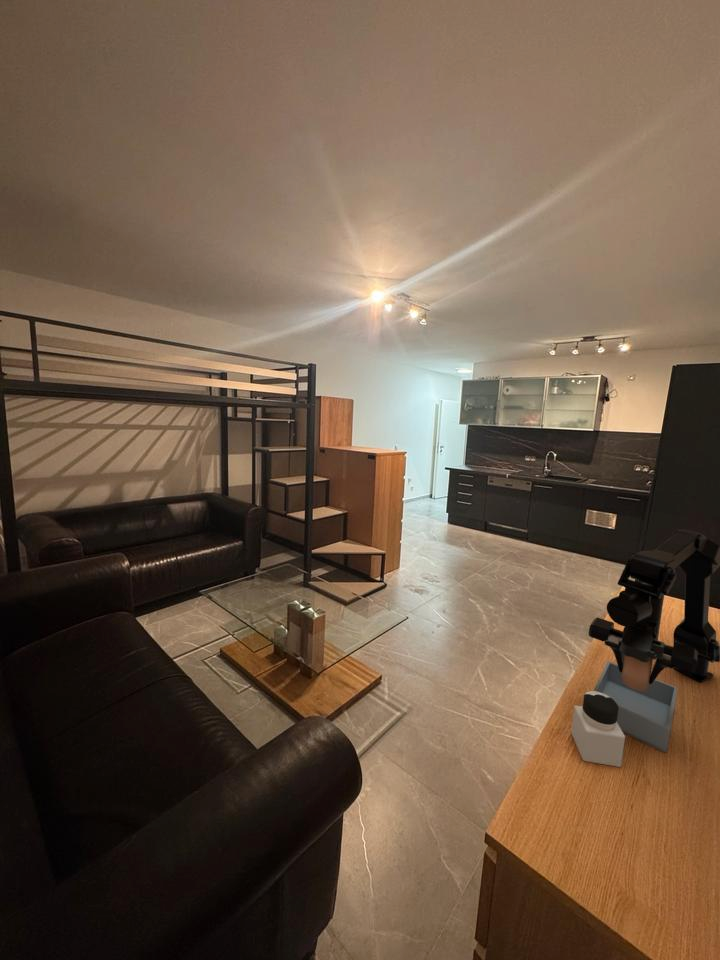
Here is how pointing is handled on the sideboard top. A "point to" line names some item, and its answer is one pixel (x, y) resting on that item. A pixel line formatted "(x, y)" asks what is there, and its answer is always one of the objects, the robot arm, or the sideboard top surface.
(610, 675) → the tote
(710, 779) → the sideboard top surface
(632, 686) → the terracotta cylinder
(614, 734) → the medicine bottle
